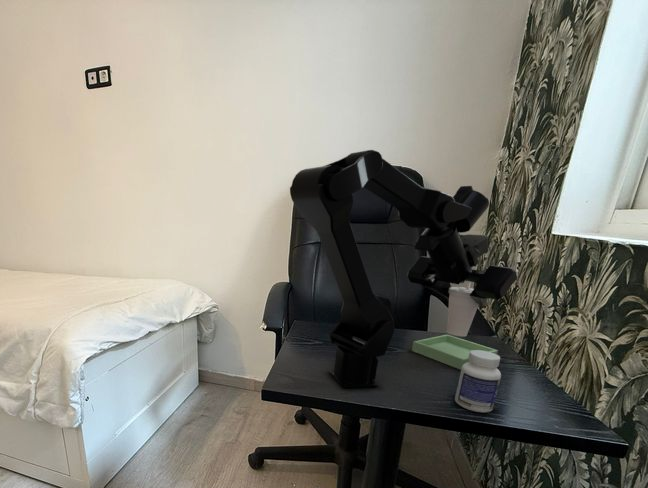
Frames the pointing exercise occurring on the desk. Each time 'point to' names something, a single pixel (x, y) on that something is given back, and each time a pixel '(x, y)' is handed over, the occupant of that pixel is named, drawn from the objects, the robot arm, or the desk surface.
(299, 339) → the desk surface
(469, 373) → the pill bottle
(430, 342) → the tray
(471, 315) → the smoothie
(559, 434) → the desk surface
